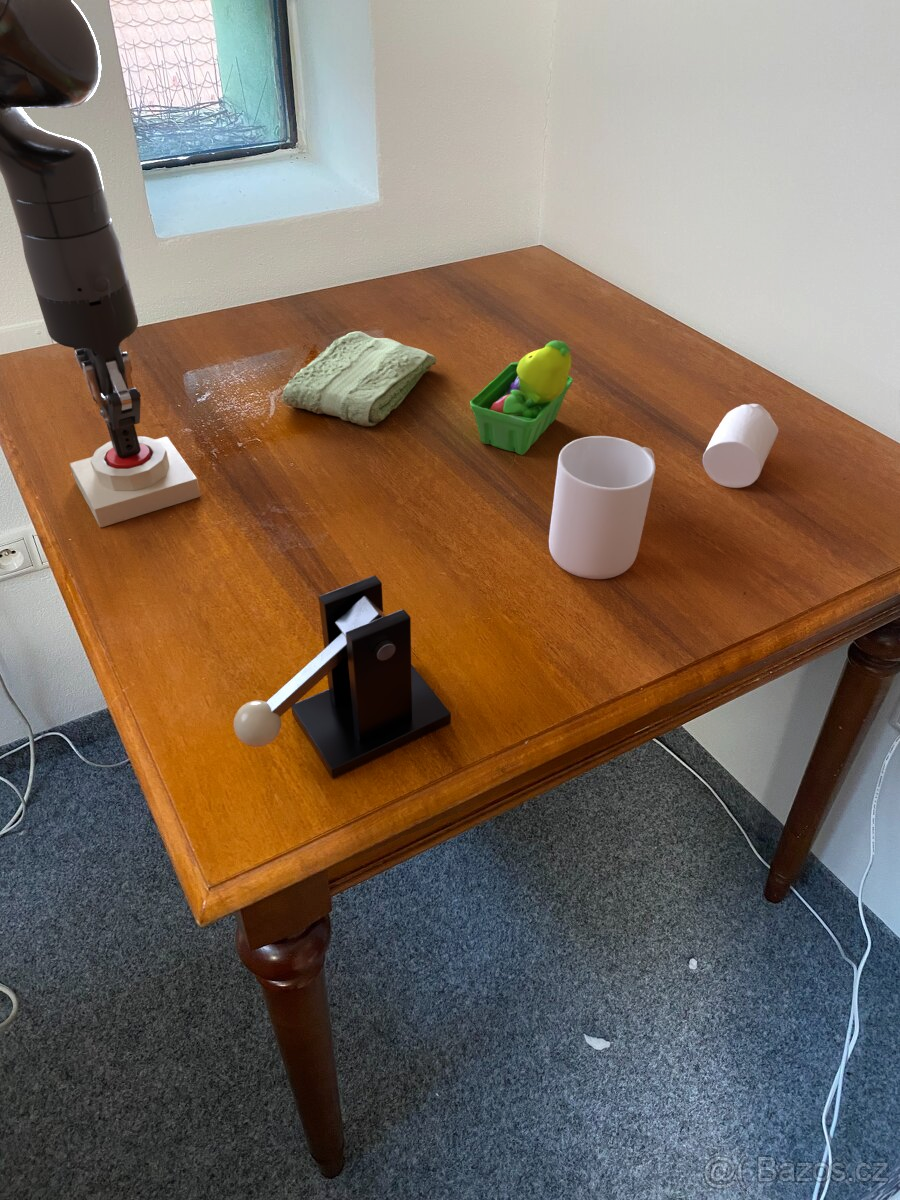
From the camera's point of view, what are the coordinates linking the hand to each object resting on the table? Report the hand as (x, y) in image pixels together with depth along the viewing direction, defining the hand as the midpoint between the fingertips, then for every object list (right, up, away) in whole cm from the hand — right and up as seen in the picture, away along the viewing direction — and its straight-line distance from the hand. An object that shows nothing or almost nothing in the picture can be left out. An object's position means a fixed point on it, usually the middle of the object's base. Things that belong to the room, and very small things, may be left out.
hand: (128, 452), depth 85 cm
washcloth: (+21, +11, +19) cm, 30 cm away
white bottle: (+63, +1, +9) cm, 63 cm away
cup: (+46, -9, -2) cm, 47 cm away
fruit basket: (+40, +4, +12) cm, 42 cm away
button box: (0, -3, +3) cm, 4 cm away
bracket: (+25, -23, -19) cm, 39 cm away
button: (0, -1, +1) cm, 2 cm away
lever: (+23, -20, -24) cm, 39 cm away
